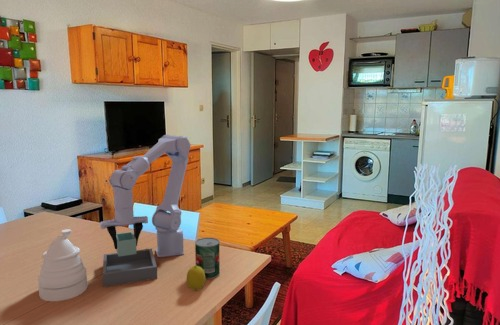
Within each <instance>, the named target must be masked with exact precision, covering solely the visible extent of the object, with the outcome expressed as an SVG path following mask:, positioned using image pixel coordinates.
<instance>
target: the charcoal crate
mask: <svg viewBox="0 0 500 325" xmlns="http://www.w3.org/2000/svg"><path fill="white" fill-rule="evenodd" d="M136 252H137V254H133V255H126V256H120V257H118V254H117V252H115V253H105V254H103V256H102V258H103V259H102V260H103V261H102V262H103V263H102V286H103V288H104V287H105V288H106V287H111V286H117V285H124V284H125V285H126V284H130V283H131V284H132V283H137V282H143V281H149V280H150V281H151V280H157V279H158V268H157V262H156V258H155V255H154V252H153V248H145V249H136Z"/></svg>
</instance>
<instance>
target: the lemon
mask: <svg viewBox="0 0 500 325" xmlns="http://www.w3.org/2000/svg"><path fill="white" fill-rule="evenodd" d="M205 283H206V279H205V273H204V270H203V269H202V268H201V267H199V266H197V265H196V264H195V265H193V266H192V267H190V268H189V269H188V271H187V274H186V284H187V286H188V288H189V289H190V290H192V291H194V292H198V291H199V290H201V289H202V288H203V286H204V285H205Z"/></svg>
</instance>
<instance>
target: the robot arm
mask: <svg viewBox="0 0 500 325" xmlns="http://www.w3.org/2000/svg"><path fill="white" fill-rule="evenodd" d="M157 140H158V142H156V144H154V145H153V146H152V147H151V148H150V149H148V150H147V152H146V153H145V154H144V155H142V156H141V155H137V156H136V155H134V156H133V157H132V158H131V159H132V160H131V161H130V162H128V163H127V164H124V165H122V166H121V169H115V170H114V171H113V172H112V173H111V175H110V178H109V179H108V182H109V184H110V186H111V188H112V191H113V199H114V200H113V202H114V218H113V219H109V220H105V221H100V228H101V230H105V229H107V233H108V234H109V236H110V237H111V240H112V242H113V246H114V249H115V250H116V249H117V240H116V234H117V229H116V227H117V228H118V227H123V226H130V225H131V226H132V227H133V228H132V229H133V234H134V236H135V238H136V247H137V246H138V242H139V238H140V234H141V233H142V230H143V227H144V225H143V224H149V220H148V219H149V217H148V216H147V215H144V216H134V196H133V188H134V187H135V185H136V183H137V180H138V179H139V178H140V177H141V176H142V175H143V174H144V173H146V172H147V171H148V170H149V169H150V164H151V163H153V162H154V161H156V160H158V158H160V157H161V156H163V155H164V154H165V155H167V157H169V158H170V159H171V161H172V162H171V168H170V172H169V175H168V181H167V183H166V188H165V191H164V195H163V200H162V202H161V203H160V204H159V205H157V206H156V208H155V211H154V213H153V214H152V217H151V223H152V225H153V226H154V228H155V230H156V244H157V246H156V247H157V248H155V252H156V253H155V254H156V255H157V256H156V258H167V257H173V256H181V255H184V254H185V253H184V251H185V250H184V233H183V229H182V228H181V227H180V226H181V224H182V210H181V209H180V208H179V206H178V205H179V204H178V203H179V199H180V196H181V191H182V188H183V183H184V179H185V175H186V171H187V166H188V163H189V152H190V150H191V142H190V140H189V139H188V137H187V136H185V135H170V134H164V135H162V136H161V137H160V138H158V139H157Z"/></svg>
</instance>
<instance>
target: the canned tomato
mask: <svg viewBox="0 0 500 325" xmlns="http://www.w3.org/2000/svg"><path fill="white" fill-rule="evenodd" d="M194 244H195V245H194V246H195V247H194V248H195V249H194V250H195V257H194V258H195V265H197V266H199V267H201V268H202V269H203V270H204V273H205V280H211V279H214V278H217V277H219V276H220V273H221V272H220V267H221V266H220V240H219V239H218V238H214V237H202V238H198V239H197V240H195V243H194Z"/></svg>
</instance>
